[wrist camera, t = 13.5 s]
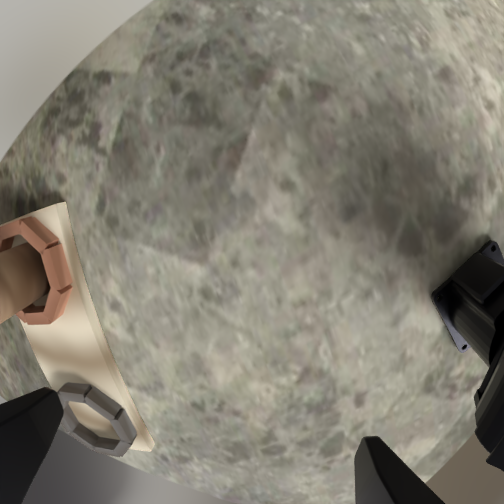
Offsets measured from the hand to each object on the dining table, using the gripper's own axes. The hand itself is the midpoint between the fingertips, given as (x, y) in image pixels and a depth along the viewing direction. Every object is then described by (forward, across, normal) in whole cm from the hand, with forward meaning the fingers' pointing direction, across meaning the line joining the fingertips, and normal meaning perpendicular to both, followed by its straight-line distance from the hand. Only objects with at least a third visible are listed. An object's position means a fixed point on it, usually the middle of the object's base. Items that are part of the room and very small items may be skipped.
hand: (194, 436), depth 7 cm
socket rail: (+13, +15, +8) cm, 21 cm away
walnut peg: (+12, +16, +1) cm, 20 cm away
